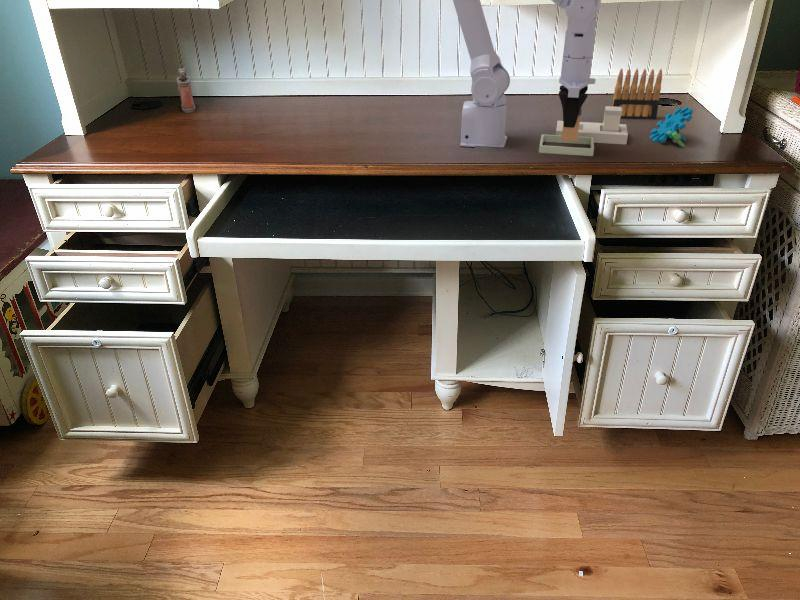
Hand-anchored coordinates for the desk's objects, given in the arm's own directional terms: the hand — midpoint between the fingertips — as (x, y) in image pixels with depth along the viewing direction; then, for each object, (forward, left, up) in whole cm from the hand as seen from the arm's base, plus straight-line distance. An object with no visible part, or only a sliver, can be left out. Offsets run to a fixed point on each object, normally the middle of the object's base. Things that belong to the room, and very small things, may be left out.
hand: (569, 124), depth 133 cm
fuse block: (+5, +9, -6) cm, 12 cm away
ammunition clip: (+15, +26, -6) cm, 31 cm away
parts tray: (0, 0, -6) cm, 6 cm away
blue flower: (+22, +10, -6) cm, 24 cm away
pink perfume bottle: (-98, +15, -6) cm, 99 cm away
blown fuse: (0, 0, -3) cm, 3 cm away
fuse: (+9, +9, -5) cm, 14 cm away
